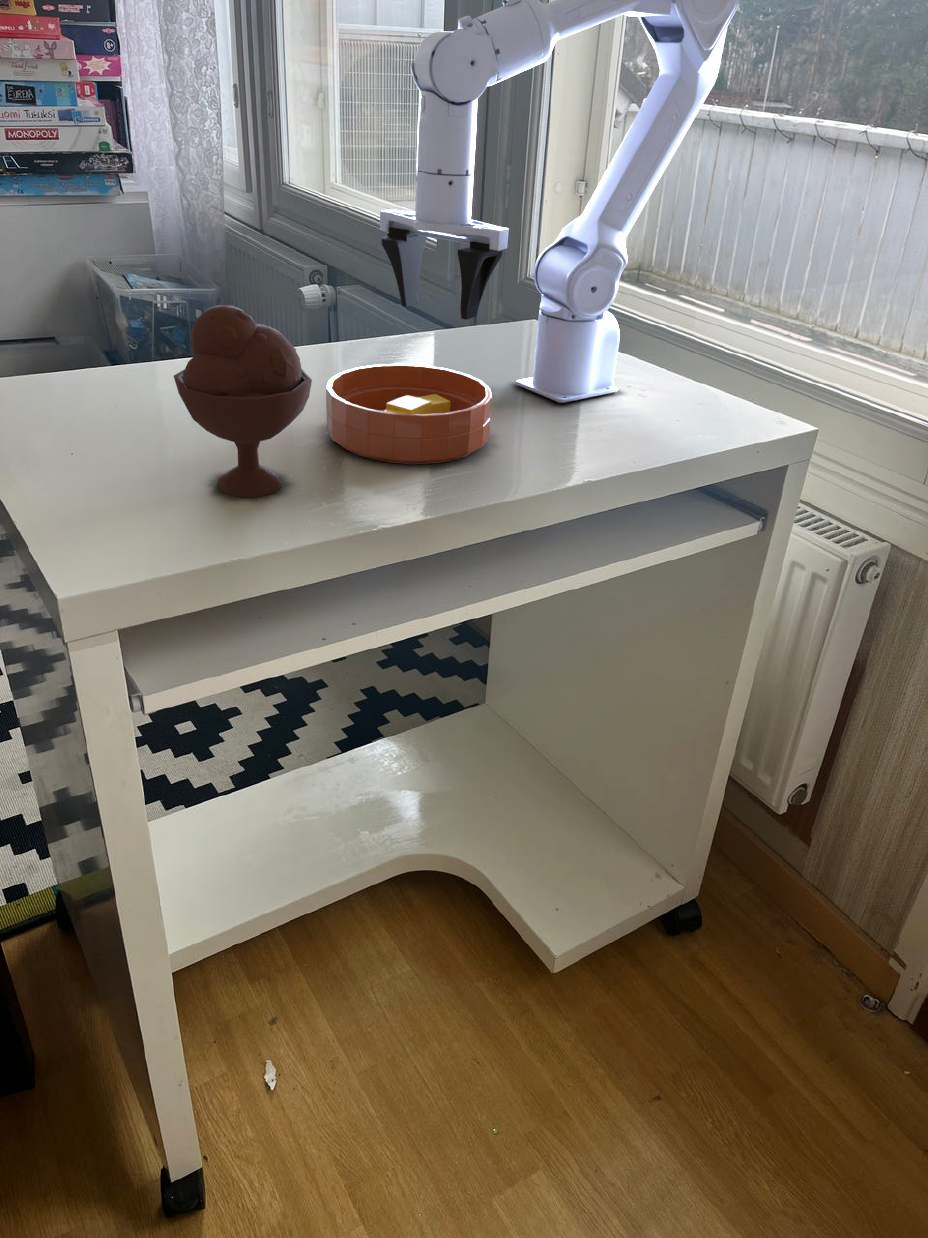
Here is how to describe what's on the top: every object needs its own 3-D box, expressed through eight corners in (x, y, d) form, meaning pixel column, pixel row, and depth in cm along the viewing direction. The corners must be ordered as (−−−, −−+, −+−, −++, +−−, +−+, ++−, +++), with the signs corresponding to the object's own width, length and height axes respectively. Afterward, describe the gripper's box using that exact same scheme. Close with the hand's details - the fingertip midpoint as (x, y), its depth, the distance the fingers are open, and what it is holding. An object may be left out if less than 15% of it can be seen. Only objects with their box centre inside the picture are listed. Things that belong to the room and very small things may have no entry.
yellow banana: (423, 415, 99) (425, 387, 98) (453, 423, 98) (455, 394, 96) (363, 442, 91) (363, 412, 90) (394, 451, 90) (395, 421, 88)
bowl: (425, 401, 105) (427, 356, 102) (520, 448, 94) (524, 399, 92) (297, 425, 96) (296, 376, 93) (386, 479, 85) (387, 426, 83)
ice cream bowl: (199, 517, 76) (182, 329, 69) (176, 466, 85) (159, 294, 77) (326, 503, 80) (324, 323, 73) (292, 455, 89) (287, 290, 81)
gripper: (362, 165, 95) (361, 305, 102) (487, 183, 89) (477, 330, 96) (403, 162, 100) (399, 294, 107) (523, 178, 94) (511, 318, 101)
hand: (438, 311), depth 102 cm, fingers open, 7 cm apart
